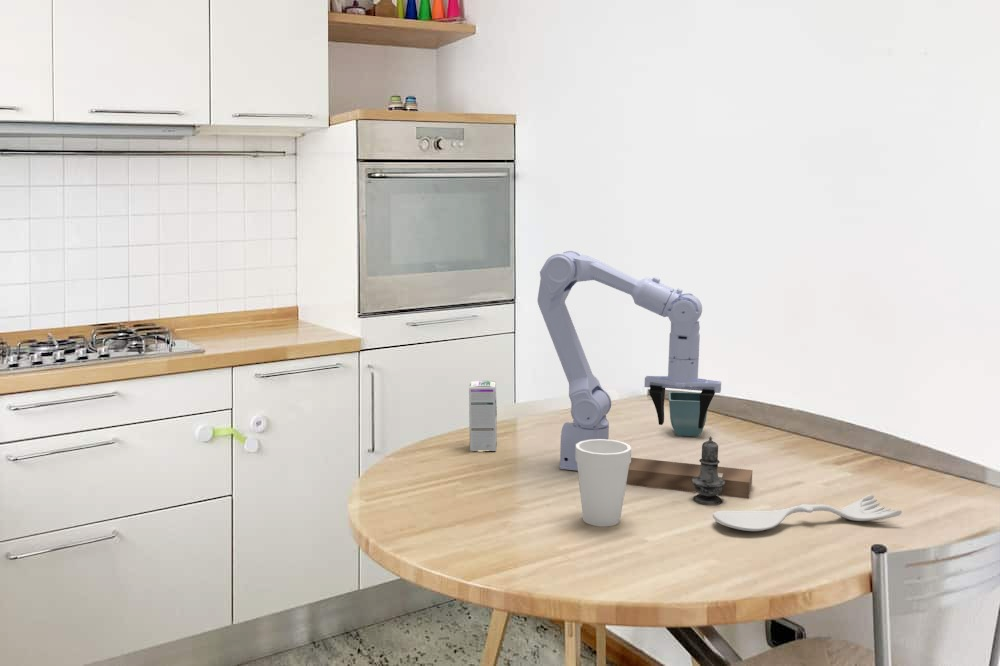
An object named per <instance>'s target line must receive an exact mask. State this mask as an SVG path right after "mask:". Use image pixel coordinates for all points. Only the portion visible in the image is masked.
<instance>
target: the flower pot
mask: <svg viewBox="0 0 1000 666" xmlns="http://www.w3.org/2000/svg"><path fill="white" fill-rule="evenodd" d="M700 393H701V392H685V391H684V392H683V391H682V392H678V391H669V392H668V405H669V406H668V407H669V419H670V423H671V424H670V425H671V427H672V430H673V432H674V434H675V436H677V437H695V438H696V437H699V436H700V435H701V433H702V432H703V429H704V428H705V426H706V425H705V424H706V423H707V422H706V421H707V415H708V411H707V412H706V415H705V419H704V424H703V428H702V429H701V428H698V423H699V415H700Z"/></svg>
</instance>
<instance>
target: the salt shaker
mask: <svg viewBox="0 0 1000 666" xmlns="http://www.w3.org/2000/svg"><path fill="white" fill-rule="evenodd" d="M718 457H719V445H718V443H717V442H715V441H713V437H712V436H709V437H708V440H706V441H705V442H703V443H702V444H701V458H700V459H699V461H698V462H700V465H701V471H700V475H699V476H698V477H695V478H693V479H692V482H693V483H694V487H695V490H696V491H697V492H696V493H697V494H696V495H695V496H693V497H692V500H693V501H694V502H695V503H698V504H702V505H708V506H714V505H715V506H717V505H720V504H722V503H723V499H722V497H720V495H718V494H719V493H720V492H721V491H722V489H723V485H724V484H725V481H724V480H722V479H720V478H719V477H718V467H719V464H720V463H721V462H720V460H719V458H718Z"/></svg>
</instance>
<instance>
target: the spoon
mask: <svg viewBox="0 0 1000 666" xmlns="http://www.w3.org/2000/svg"><path fill="white" fill-rule="evenodd" d="M874 497H875V496H874V495H873V494H868V495H866V496H863V497H862V498H860V499H858V500H856V501H855V502H852V503H849V504H847V505H846V506H844V507H843V508H842V509H838V508H836V507H833V506H832V505H828V504H823V503H820V504H806V503H802V504H801V503H800V504H799V505H795V506H791V507H787V508H783V509H782V508H781V509H775V510H768V509H767V510H757V509H756V510H755V509H754V510H716V511H713V513H712V518H713V519H714V520H715V522H717V523H718V524H720V525H723V526H725V527H728V528H732V529H734V530H738V531H743V532H745V531H746V532H760V531H761V532H762V531H765V530H770V529H774V528H775V527H777V526H778V525H780V523H782V522H783V521H784V520H786V518H787V517H789V516H790V515H792V514H796V513H807V514H811V513H813V512H821V511H822V512H823V511H824V512H829V513H832V514H834V515H835V514H836V515H838V516H840V517H842V518H843V519H847V520H850V521H854V522H855V521H856V522H866V521H867V522H868V521H873V520H874V521H875V520H883V519H884V520H885V519H889V518H895V517H898V516H901V514H902V510H901V509H898V510H896V509H891V508H886V507H885V506H880V504H881V503H880V502H877V501H878V499H876V498H875V499H874Z"/></svg>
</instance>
